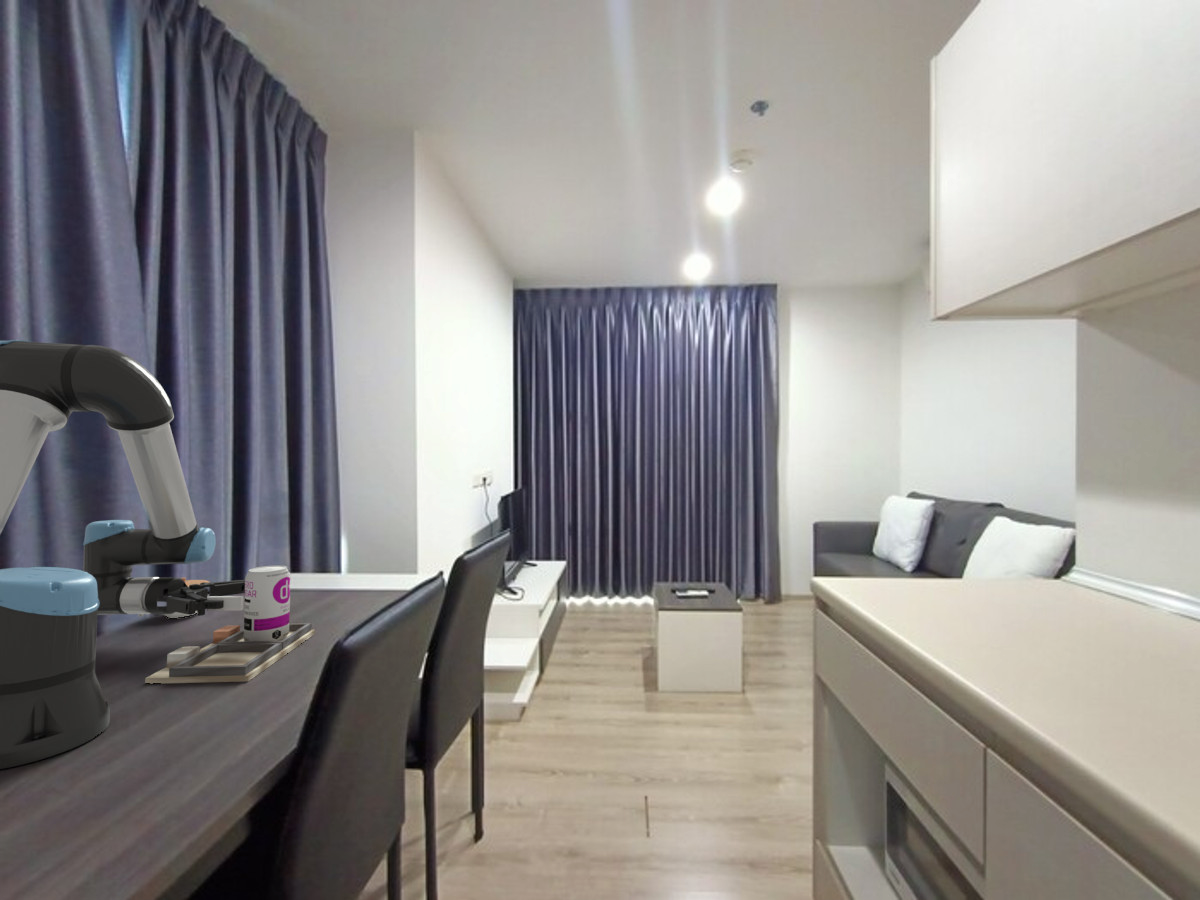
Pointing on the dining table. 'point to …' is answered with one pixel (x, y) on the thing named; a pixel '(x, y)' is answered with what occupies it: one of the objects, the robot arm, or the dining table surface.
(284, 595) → the supplement can
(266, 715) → the dining table surface
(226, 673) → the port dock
